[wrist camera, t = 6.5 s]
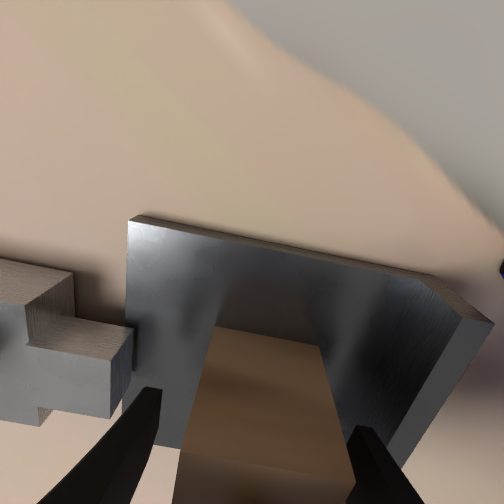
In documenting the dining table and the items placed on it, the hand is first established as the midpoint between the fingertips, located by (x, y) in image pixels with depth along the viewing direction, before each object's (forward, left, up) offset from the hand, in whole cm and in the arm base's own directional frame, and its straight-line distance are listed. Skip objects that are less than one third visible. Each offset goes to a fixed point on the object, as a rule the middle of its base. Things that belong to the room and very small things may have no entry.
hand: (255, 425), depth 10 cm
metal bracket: (0, 0, -3) cm, 3 cm away
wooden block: (0, 0, -2) cm, 2 cm away
